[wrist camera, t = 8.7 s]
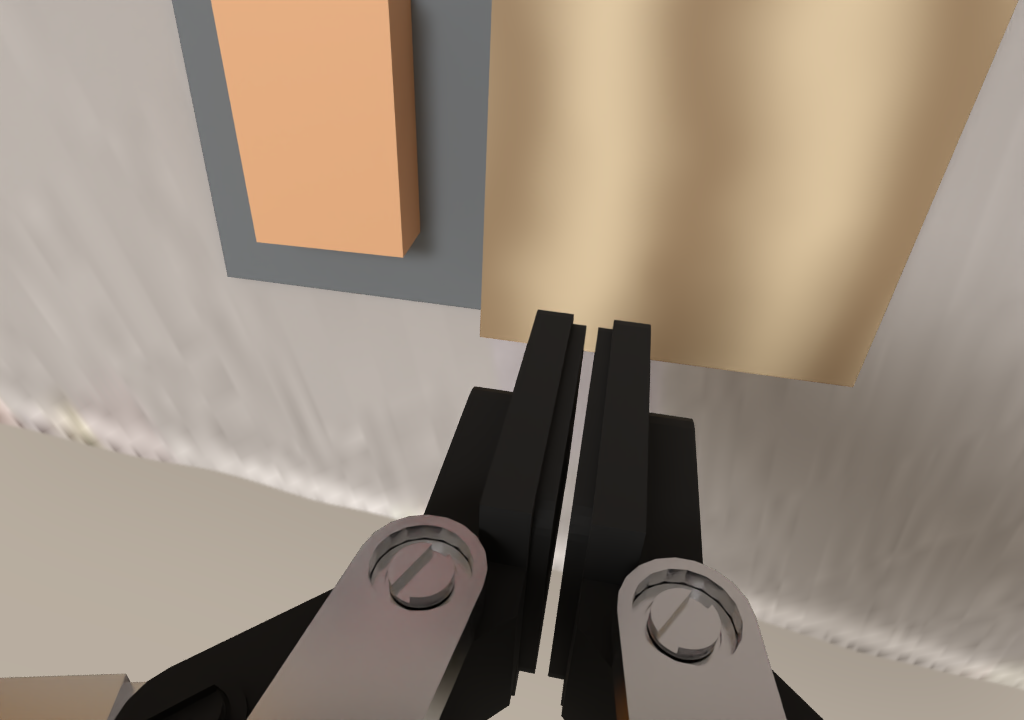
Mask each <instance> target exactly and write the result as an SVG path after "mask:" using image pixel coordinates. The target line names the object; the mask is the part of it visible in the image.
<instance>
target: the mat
mask: <svg viewBox="0 0 1024 720" xmlns="http://www.w3.org/2000/svg"><path fill="white" fill-rule="evenodd" d="M172 3H173V8H174V13H175V18H176V23H177V28H178V33H179V38H180V43H181V48H182V53H183V58H184V63H185V68H186V73H187V77H188V82H189V87H190V92H191V97H192V102H193V107H194V112H195V117H196V122H197V127H198V132H199V137H200V142H201V147H202V152H203V156H204V161H205V166H206V171H207V176H208V181H209V186H210V191H211V196H212V201H213V206H214V211H215V216H216V221H217V226H218V231H219V236H220V240H221V245H222V250H223V255H224V260H225V265H226V270H227V275H228V277H235V278H243V279H250V280H258V281H265V282H273V283H281V284H288V285H296V286H304V287H311V288H319V289H327V290H334V291H342V292H349V293H357V294H365V295H372V296H380V297H388V298H395V299H403V300H411V301H418V302H426V303H433V304H441V305H449V306H456V307H464V308H472V309H479V310H481V292H482V264H483V236H484V208H485V180H486V152H487V124H488V96H489V68H490V40H491V12H492V0H411V20H412V44H413V67H414V91H415V115H416V139H417V163H418V187H419V211H420V233H419V235H418V236H417V238H416V239H415V241H414V242H413V244H412V245H411V247H410V248H409V250H408V251H407V253H406V254H405V256H404V257H403V258H402V257H392V256H383V255H373V254H364V253H355V252H345V251H336V250H326V249H317V248H308V247H298V246H289V245H279V244H270V243H261V242H257V241H256V236H255V230H254V225H253V220H252V214H251V209H250V204H249V199H248V193H247V188H246V183H245V178H244V172H243V167H242V162H241V157H240V151H239V146H238V141H237V135H236V130H235V125H234V120H233V114H232V109H231V104H230V99H229V93H228V88H227V83H226V77H225V72H224V67H223V62H222V56H221V51H220V46H219V41H218V35H217V30H216V25H215V20H214V14H213V9H212V4H211V0H172Z"/></svg>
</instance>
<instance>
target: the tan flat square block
mask: <svg viewBox="0 0 1024 720" xmlns="http://www.w3.org/2000/svg"><path fill="white" fill-rule="evenodd" d="M1017 2H1018V0H492V12H491V40H490V68H489V96H488V124H487V152H486V180H485V208H484V236H483V264H482V292H481V320H480V337H486V338H493V339H500V340H508V341H515V342H523V343H528V340H529V337H530V333H531V330H532V327H533V323H534V320H535V316H536V313H537V310H538V309H539V310H547V311H554V312H562V313H569V314H574V321H573V324H579V325H586V326H587V328H586V336H585V344H584V351H589V352H595V347H596V341H597V334H598V327H601V328H608V329H613V323H614V320H621V321H629V322H636V323H643V324H650V325H651V353H650V360H656V361H663V362H671V363H678V364H686V365H693V366H700V367H708V368H715V369H723V370H730V371H738V372H745V373H752V374H760V375H767V376H775V377H782V378H789V379H797V380H804V381H812V382H819V383H826V384H834V385H841V386H849V387H853V386H854V384H855V381H856V379H857V377H858V374H859V372H860V370H861V367H862V365H863V363H864V360H865V358H866V356H867V353H868V351H869V349H870V346H871V344H872V342H873V339H874V337H875V335H876V332H877V330H878V328H879V325H880V323H881V321H882V318H883V316H884V314H885V311H886V309H887V307H888V304H889V302H890V300H891V297H892V295H893V293H894V290H895V288H896V285H897V283H898V281H899V278H900V276H901V274H902V271H903V269H904V267H905V264H906V262H907V260H908V257H909V255H910V253H911V250H912V248H913V246H914V243H915V241H916V239H917V236H918V234H919V232H920V229H921V227H922V225H923V222H924V220H925V218H926V215H927V213H928V211H929V208H930V206H931V204H932V201H933V199H934V197H935V194H936V192H937V190H938V187H939V185H940V183H941V180H942V178H943V176H944V173H945V171H946V169H947V166H948V164H949V162H950V159H951V157H952V154H953V152H954V150H955V147H956V145H957V143H958V140H959V138H960V136H961V133H962V131H963V129H964V126H965V124H966V122H967V119H968V117H969V115H970V112H971V110H972V108H973V105H974V103H975V101H976V98H977V96H978V94H979V91H980V89H981V87H982V84H983V82H984V80H985V77H986V75H987V73H988V70H989V68H990V66H991V63H992V61H993V59H994V56H995V54H996V52H997V49H998V47H999V45H1000V42H1001V40H1002V38H1003V35H1004V33H1005V31H1006V28H1007V26H1008V23H1009V21H1010V19H1011V16H1012V14H1013V12H1014V9H1015V7H1016V5H1017Z"/></svg>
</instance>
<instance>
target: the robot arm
mask: <svg viewBox="0 0 1024 720" xmlns="http://www.w3.org/2000/svg"><path fill="white" fill-rule="evenodd" d="M573 321H574V314H569V313H562V312H554V311H547V310H539V309H538V310H537V313H536V316H535V320H534V323H533V327H532V330H531V333H530V337H529V340H528V343H527V347H526V350H525V353H524V357H523V360H522V364H521V367H520V370H519V374H518V377H517V380H516V384H515V387H514V391H513V392H509V391H502V390H496V389H489V388H482V387H476V386H475V387H474V388H473V389H472V391H471V393H470V395H469V397H468V400H467V403H466V405H465V408H464V411H463V413H462V416H461V418H460V421H459V424H458V426H457V429H456V432H455V434H454V437H453V439H452V442H451V445H450V447H449V450H448V453H447V455H446V458H445V460H444V463H443V466H442V468H441V471H440V474H439V476H438V479H437V481H436V484H435V487H434V489H433V492H432V494H431V497H430V500H429V502H428V505H427V508H426V510H425V513H424V515H418V516H408V517H405V518H402V519H399V520H396V521H393V522H390V523H389V524H387V525H385V526H384V527H382V528H381V529H379V530H377V531H376V532H374V533H373V534H372V536H371V537H370V538H369V539H368V540H367V541H366V542H365V543H364V544H363V545H362V547H361V548H360V550H359V551H358V553H357V554H356V556H355V557H354V559H353V560H352V562H351V563H350V565H349V566H348V568H347V569H346V571H345V572H344V574H343V575H342V577H341V578H340V580H339V581H338V583H337V584H336V586H335V587H334V588H333V589H331V590H329V591H327V592H325V593H323V594H321V595H319V596H317V597H315V598H313V599H311V600H309V601H306V602H304V603H302V604H300V605H298V606H296V607H294V608H292V609H290V610H288V611H286V612H284V613H282V614H280V615H277V616H276V617H274V618H271V619H269V620H267V621H265V622H263V623H261V624H259V625H257V626H255V627H253V628H251V629H249V630H246V631H244V632H242V633H240V634H238V635H236V636H234V637H232V638H230V639H228V640H226V641H224V642H222V643H220V644H218V645H215V646H214V647H212V648H209V649H207V650H205V651H203V652H201V653H199V654H197V655H195V656H193V657H191V658H189V659H187V660H184V661H182V662H180V663H178V664H176V665H174V666H172V667H170V668H168V669H167V670H165V671H163V672H162V673H160V674H159V675H157V676H155V677H154V678H152V679H151V680H149V681H147V682H130V680H129V678H128V676H127V674H104V675H103V674H101V675H72V676H42V677H41V676H40V677H11V678H0V720H487V719H489V718H491V717H492V716H494V715H495V714H497V713H498V712H499V711H501V710H503V709H504V708H506V707H507V706H509V704H510V699H511V695H513V696H514V695H515V690H516V685H517V680H518V674H519V671H524V672H529V673H535V669H536V663H537V657H538V651H539V645H540V638H541V632H542V626H543V620H544V613H545V608H546V601H547V595H548V589H549V583H550V577H551V571H552V565H553V558H554V552H555V546H556V540H557V534H558V528H559V521H560V515H561V509H562V503H563V497H564V491H565V484H566V478H567V472H568V465H569V458H570V450H571V442H572V435H573V427H574V420H575V412H576V404H577V397H578V389H579V382H580V374H581V367H582V359H583V351H584V344H585V336H586V328H587V326H586V325H579V324H573ZM650 353H651V325H650V324H643V323H636V322H629V321H621V320H614V323H613V329H608V328H601V327H598V334H597V341H596V347H595V354H594V361H593V368H592V375H591V382H590V389H589V396H588V402H587V409H586V416H585V423H584V430H583V437H582V444H581V450H580V457H579V464H578V471H577V478H576V485H575V492H574V499H573V505H572V512H571V519H570V526H569V533H568V540H567V547H566V554H565V561H564V568H563V575H562V582H561V589H560V596H559V603H558V610H557V617H556V624H555V631H554V638H553V645H552V652H551V659H550V666H549V673H548V676H549V677H554V678H559V679H564V684H563V693H562V700H561V705H562V706H563V707H562V715H561V716H562V717H563V719H564V720H823V719H822V718H821V717H820V716H819V715H818V714H817V713H816V712H815V711H814V710H813V709H812V708H811V707H810V706H809V705H808V704H807V703H806V702H805V701H804V700H803V699H802V698H801V697H800V696H799V695H797V694H796V693H795V692H794V691H793V690H792V689H791V688H790V687H789V686H788V685H787V684H786V683H785V682H784V681H783V680H782V679H781V678H780V677H779V676H778V675H777V674H776V673H775V672H774V671H773V670H772V669H771V666H770V662H769V659H768V655H767V652H766V649H765V645H764V642H763V639H762V635H761V632H760V629H759V625H758V622H757V619H756V616H755V614H754V612H753V610H752V608H751V606H750V603H749V601H748V599H747V598H746V597H745V596H744V595H743V593H742V592H741V591H740V590H739V589H738V588H737V586H736V585H735V584H734V583H733V582H732V581H730V580H729V579H728V578H726V577H725V576H723V575H722V574H721V573H719V572H718V571H717V570H715V569H713V568H710V567H708V566H706V565H703V558H702V541H701V525H700V508H699V492H698V475H697V459H696V442H695V428H694V422H693V420H692V419H689V418H683V417H676V416H669V415H663V414H656V413H649V394H650Z"/></svg>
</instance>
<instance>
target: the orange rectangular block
mask: <svg viewBox="0 0 1024 720" xmlns="http://www.w3.org/2000/svg"><path fill="white" fill-rule="evenodd" d="M211 4H212V9H213V14H214V20H215V25H216V30H217V35H218V41H219V46H220V51H221V56H222V62H223V67H224V72H225V77H226V83H227V88H228V93H229V99H230V104H231V109H232V114H233V120H234V125H235V130H236V135H237V141H238V146H239V151H240V157H241V162H242V167H243V172H244V178H245V183H246V188H247V193H248V199H249V204H250V209H251V214H252V220H253V225H254V230H255V236H256V241H257V242H261V243H270V244H279V245H289V246H298V247H308V248H317V249H326V250H336V251H345V252H355V253H364V254H373V255H383V256H392V257H402V258H403V257H404V256H405V254H406V253H407V251H408V250H409V248H410V247H411V245H412V244H413V242H414V241H415V239H416V238H417V236H418V235H419V233H420V211H419V187H418V163H417V139H416V115H415V91H414V67H413V44H412V20H411V0H211Z"/></svg>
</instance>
